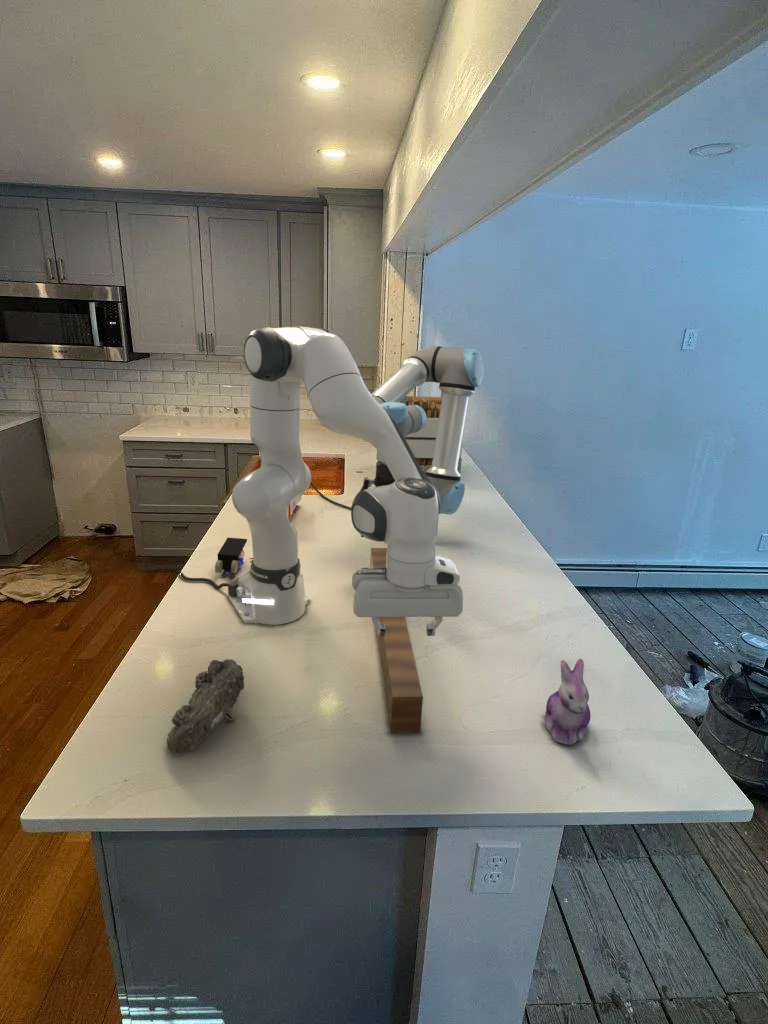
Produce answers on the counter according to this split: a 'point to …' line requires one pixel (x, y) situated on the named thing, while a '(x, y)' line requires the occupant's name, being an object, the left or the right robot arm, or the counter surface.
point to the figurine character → (230, 556)
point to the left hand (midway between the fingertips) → (405, 634)
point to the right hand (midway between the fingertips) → (386, 535)
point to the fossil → (206, 705)
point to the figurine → (569, 706)
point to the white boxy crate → (426, 430)
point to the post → (398, 668)
